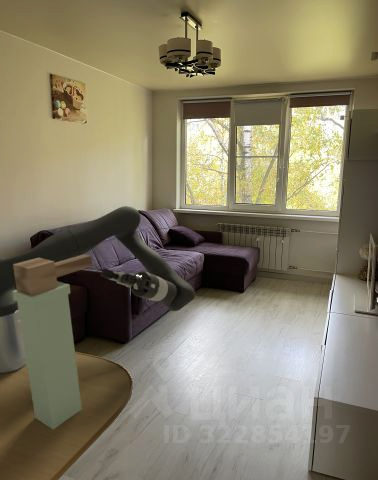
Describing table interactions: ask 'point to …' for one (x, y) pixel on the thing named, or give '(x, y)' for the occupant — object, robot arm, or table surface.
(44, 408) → the stand
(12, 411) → the table surface
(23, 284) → the mallet
